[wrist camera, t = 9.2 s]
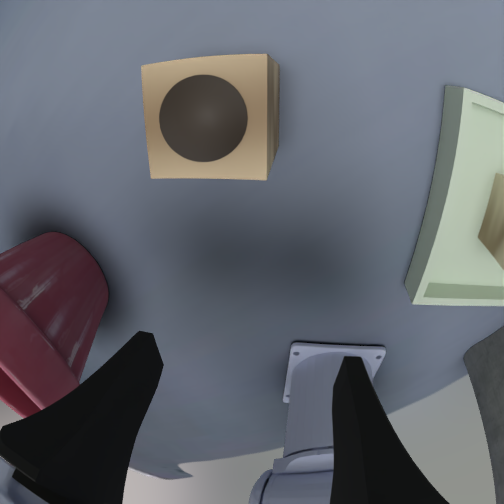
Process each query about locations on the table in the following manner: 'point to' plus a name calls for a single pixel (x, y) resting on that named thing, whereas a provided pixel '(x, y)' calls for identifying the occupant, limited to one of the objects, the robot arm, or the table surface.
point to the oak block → (212, 116)
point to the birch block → (494, 221)
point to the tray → (460, 207)
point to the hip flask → (490, 398)
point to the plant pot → (47, 319)
